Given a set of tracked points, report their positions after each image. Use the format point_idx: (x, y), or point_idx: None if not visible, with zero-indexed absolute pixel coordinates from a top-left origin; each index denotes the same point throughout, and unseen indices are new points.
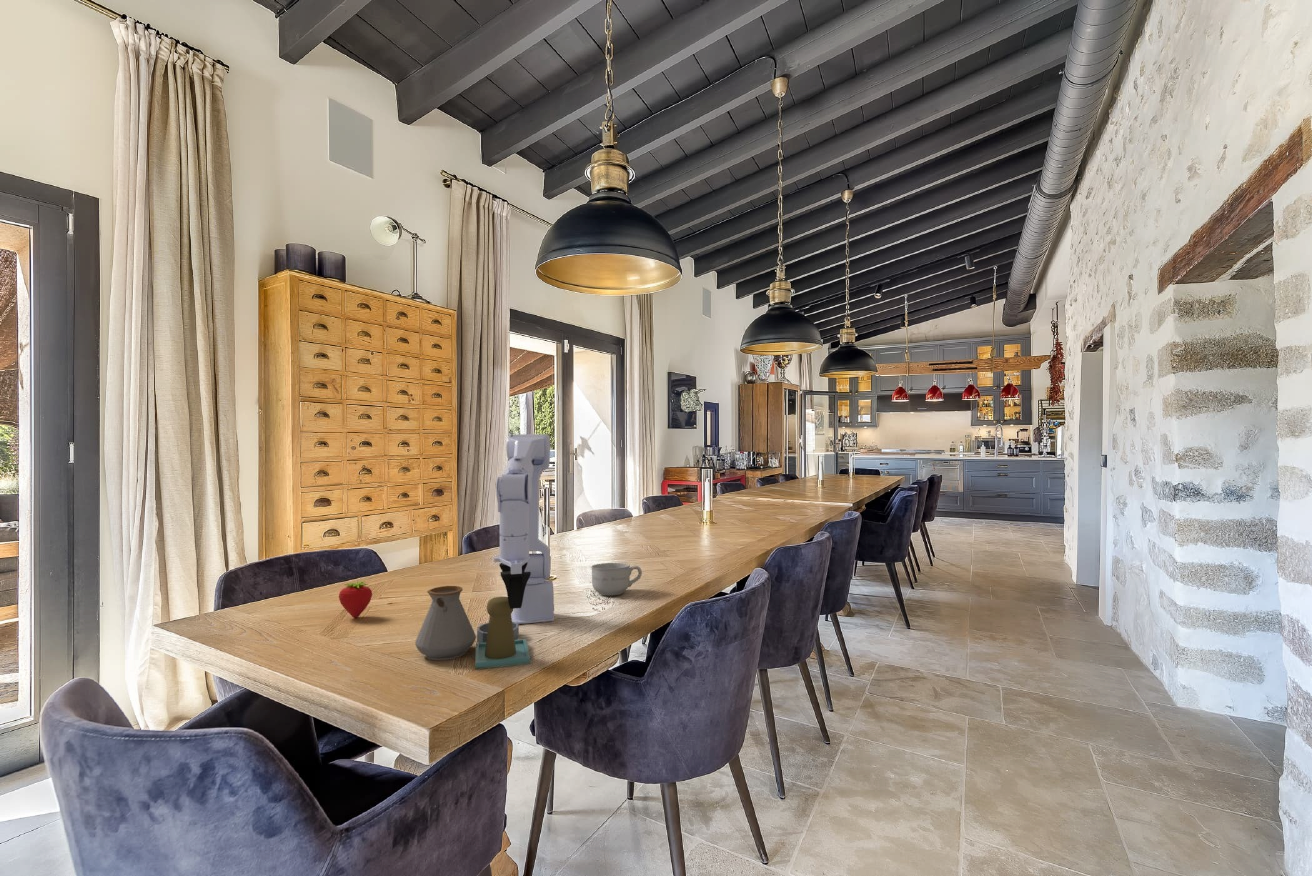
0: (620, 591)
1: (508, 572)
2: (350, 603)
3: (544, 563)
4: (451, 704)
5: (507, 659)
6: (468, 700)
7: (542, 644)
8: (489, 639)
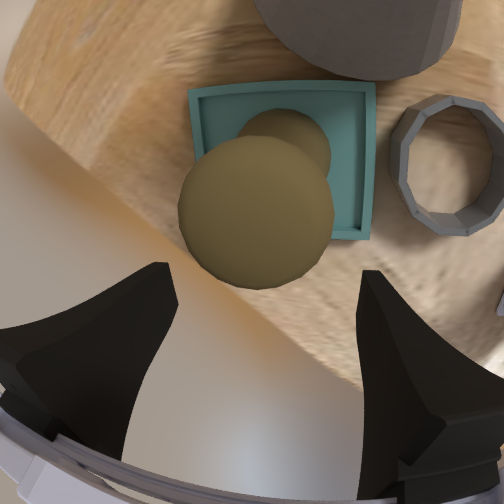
0: None
1: (24, 395)
2: None
3: None
4: (41, 89)
5: None
6: (50, 114)
7: (351, 272)
8: (244, 130)
